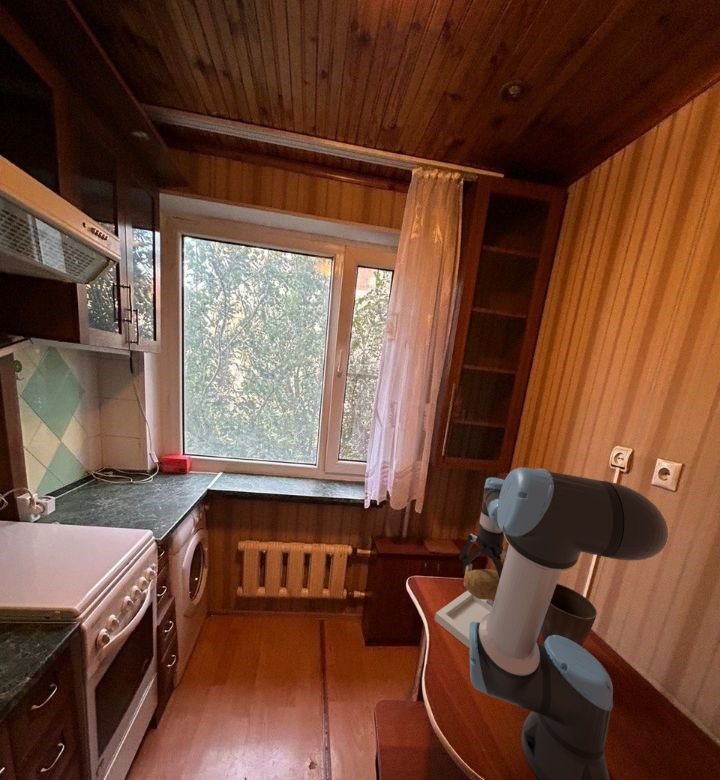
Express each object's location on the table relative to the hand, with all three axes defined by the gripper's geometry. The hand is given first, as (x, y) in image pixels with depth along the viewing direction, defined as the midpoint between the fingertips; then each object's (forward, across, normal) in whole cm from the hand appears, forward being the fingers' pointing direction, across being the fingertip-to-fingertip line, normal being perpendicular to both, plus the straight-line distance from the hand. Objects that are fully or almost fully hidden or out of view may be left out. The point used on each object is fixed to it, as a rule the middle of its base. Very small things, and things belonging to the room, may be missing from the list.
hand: (482, 594), depth 97 cm
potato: (+1, 0, 0) cm, 1 cm away
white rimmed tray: (+10, 0, 0) cm, 10 cm away
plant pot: (+10, -19, -13) cm, 25 cm away
